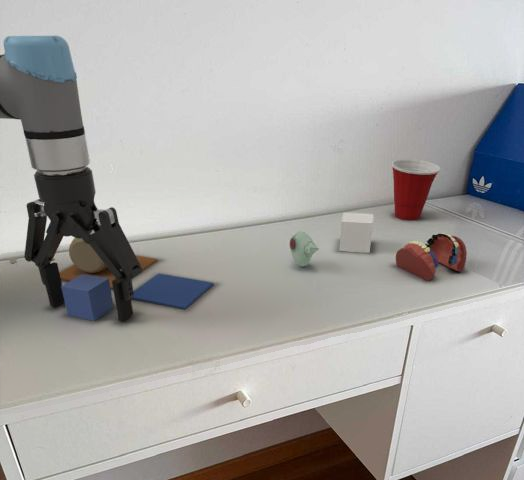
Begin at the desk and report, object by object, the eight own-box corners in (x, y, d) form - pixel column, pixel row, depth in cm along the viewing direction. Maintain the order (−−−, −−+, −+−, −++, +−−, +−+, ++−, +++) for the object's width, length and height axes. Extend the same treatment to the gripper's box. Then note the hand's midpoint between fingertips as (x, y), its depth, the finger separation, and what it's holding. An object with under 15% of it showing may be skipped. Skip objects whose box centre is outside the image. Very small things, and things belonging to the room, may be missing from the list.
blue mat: (126, 298, 85) (126, 296, 85) (158, 275, 93) (158, 273, 93) (185, 309, 82) (185, 307, 81) (213, 284, 89) (213, 282, 89)
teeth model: (393, 234, 92) (442, 224, 97) (387, 267, 96) (435, 255, 100) (426, 251, 86) (477, 239, 91) (419, 285, 89) (468, 272, 94)
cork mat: (53, 278, 92) (52, 276, 92) (101, 251, 103) (101, 249, 103) (113, 289, 88) (113, 287, 88) (157, 260, 99) (157, 258, 99)
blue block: (67, 315, 80) (60, 286, 77) (88, 302, 84) (82, 273, 81) (94, 321, 78) (88, 291, 76) (113, 307, 82) (108, 278, 80)
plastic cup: (414, 227, 115) (423, 171, 109) (375, 216, 122) (381, 163, 115) (441, 217, 121) (450, 163, 115) (402, 207, 128) (409, 156, 122)
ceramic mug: (69, 274, 92) (61, 232, 88) (89, 257, 99) (83, 218, 95) (126, 279, 91) (120, 237, 87) (142, 261, 98) (138, 221, 94)
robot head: (321, 272, 94) (323, 236, 90) (301, 276, 92) (302, 240, 89) (299, 257, 100) (300, 223, 96) (280, 261, 98) (281, 226, 95)
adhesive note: (341, 240, 108) (343, 212, 105) (370, 242, 107) (373, 213, 104) (339, 251, 103) (341, 221, 100) (369, 253, 102) (372, 223, 99)
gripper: (155, 169, 69) (171, 312, 80) (13, 156, 77) (46, 288, 88) (122, 182, 63) (144, 335, 74) (-28, 167, 71) (13, 307, 82)
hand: (91, 310), depth 81 cm, fingers open, 12 cm apart
